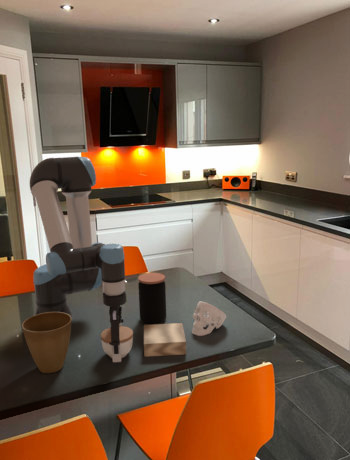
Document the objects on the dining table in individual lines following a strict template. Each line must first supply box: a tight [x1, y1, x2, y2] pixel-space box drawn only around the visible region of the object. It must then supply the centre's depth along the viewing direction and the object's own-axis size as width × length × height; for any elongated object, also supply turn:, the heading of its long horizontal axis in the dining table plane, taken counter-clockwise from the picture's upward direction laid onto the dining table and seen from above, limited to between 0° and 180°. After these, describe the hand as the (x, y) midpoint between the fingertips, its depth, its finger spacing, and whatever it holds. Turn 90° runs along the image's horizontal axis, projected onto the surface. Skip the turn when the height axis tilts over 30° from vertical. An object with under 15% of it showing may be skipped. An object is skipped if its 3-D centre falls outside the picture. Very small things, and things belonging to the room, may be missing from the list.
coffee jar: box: [137, 272, 167, 325], centre depth 160 cm, size 11×11×18 cm
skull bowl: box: [191, 300, 227, 337], centre depth 152 cm, size 10×14×12 cm
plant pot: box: [21, 312, 73, 374], centre depth 128 cm, size 15×15×16 cm
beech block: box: [143, 322, 187, 358], centre depth 141 cm, size 14×14×5 cm
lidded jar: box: [100, 326, 134, 359], centre depth 135 cm, size 11×11×9 cm
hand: (117, 350), depth 136 cm, fingers open, 13 cm apart
